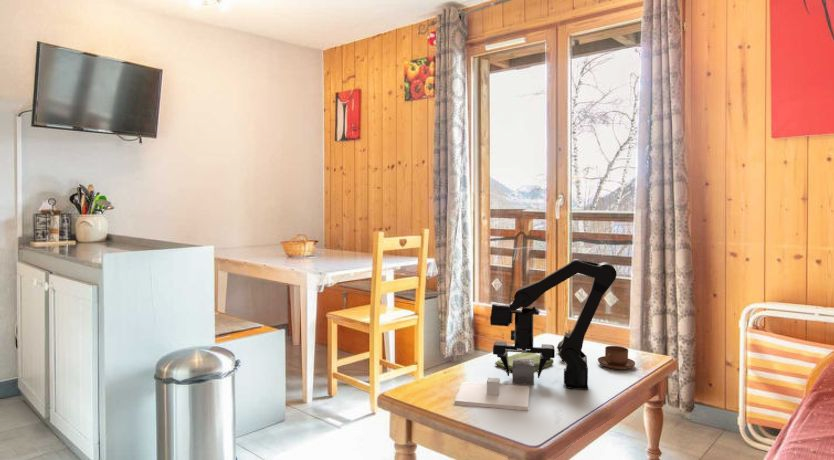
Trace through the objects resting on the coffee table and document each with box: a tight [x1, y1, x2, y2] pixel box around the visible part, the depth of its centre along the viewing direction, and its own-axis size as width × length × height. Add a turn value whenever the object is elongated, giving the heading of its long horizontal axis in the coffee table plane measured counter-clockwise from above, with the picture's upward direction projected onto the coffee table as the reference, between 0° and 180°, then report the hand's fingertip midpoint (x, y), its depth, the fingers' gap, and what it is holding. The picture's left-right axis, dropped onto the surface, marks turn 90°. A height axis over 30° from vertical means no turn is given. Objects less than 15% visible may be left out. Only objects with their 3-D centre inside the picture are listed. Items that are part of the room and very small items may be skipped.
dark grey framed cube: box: [511, 358, 535, 386], centre depth 169 cm, size 6×6×6 cm
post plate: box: [454, 377, 530, 411], centre depth 156 cm, size 20×16×5 cm
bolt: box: [556, 341, 566, 363], centre depth 196 cm, size 6×5×15 cm
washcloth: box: [494, 352, 554, 372], centre depth 185 cm, size 13×18×3 cm
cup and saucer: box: [597, 345, 636, 370], centre depth 184 cm, size 12×12×6 cm
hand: (523, 376), depth 169 cm, fingers open, 9 cm apart
